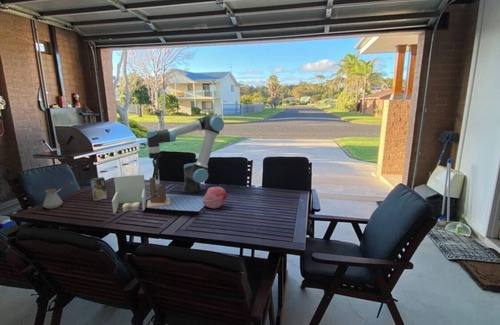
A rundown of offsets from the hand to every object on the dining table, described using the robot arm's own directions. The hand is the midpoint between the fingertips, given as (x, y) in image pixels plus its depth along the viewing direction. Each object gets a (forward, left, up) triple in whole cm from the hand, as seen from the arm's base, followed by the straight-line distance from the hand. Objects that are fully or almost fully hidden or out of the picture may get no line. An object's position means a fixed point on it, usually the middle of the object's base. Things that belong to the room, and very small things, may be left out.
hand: (157, 181), depth 195 cm
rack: (+19, 0, -17) cm, 25 cm away
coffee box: (+43, -27, -17) cm, 54 cm away
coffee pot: (+69, -22, -17) cm, 74 cm away
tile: (0, 0, -16) cm, 16 cm away
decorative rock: (-37, +23, -17) cm, 46 cm away
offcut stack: (+19, +5, -17) cm, 26 cm away
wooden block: (+1, 0, -16) cm, 16 cm away
